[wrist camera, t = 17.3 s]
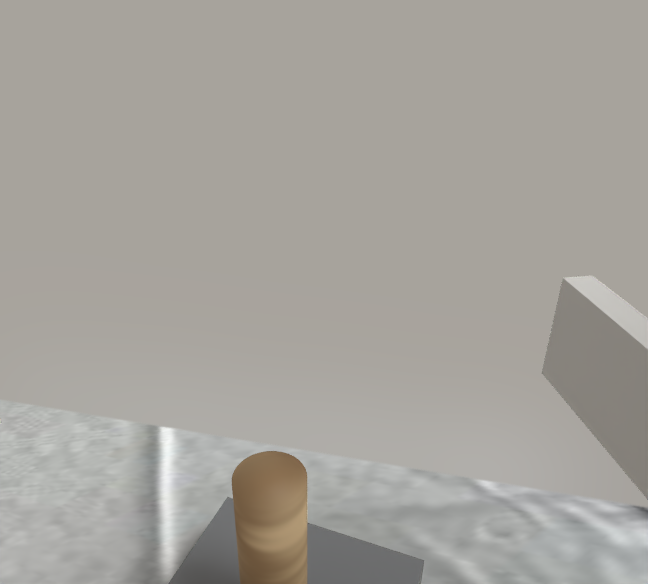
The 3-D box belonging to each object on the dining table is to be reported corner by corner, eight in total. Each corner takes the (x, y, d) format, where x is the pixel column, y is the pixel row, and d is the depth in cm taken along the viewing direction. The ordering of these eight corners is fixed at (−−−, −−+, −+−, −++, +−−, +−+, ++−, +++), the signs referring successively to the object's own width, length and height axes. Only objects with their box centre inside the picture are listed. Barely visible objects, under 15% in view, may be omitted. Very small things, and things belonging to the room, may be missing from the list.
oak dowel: (316, 645, 36) (318, 462, 29) (293, 704, 33) (288, 516, 26) (263, 625, 37) (253, 443, 30) (236, 680, 34) (217, 493, 27)
